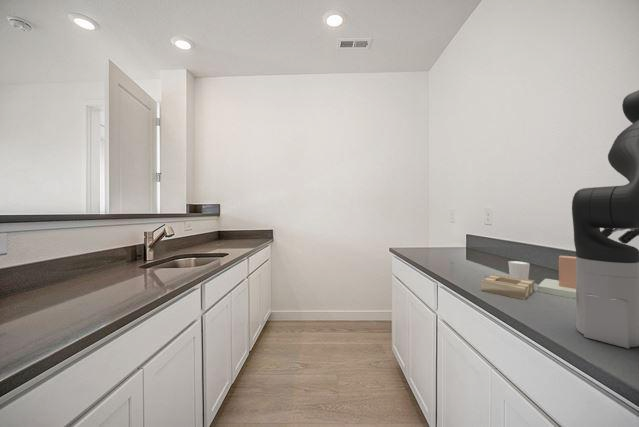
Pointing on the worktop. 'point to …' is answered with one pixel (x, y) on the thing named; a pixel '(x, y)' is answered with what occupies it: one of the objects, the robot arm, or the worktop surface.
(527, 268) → the white cube
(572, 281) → the terracotta block
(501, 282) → the birch holder
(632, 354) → the worktop surface
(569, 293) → the sage tile platform
